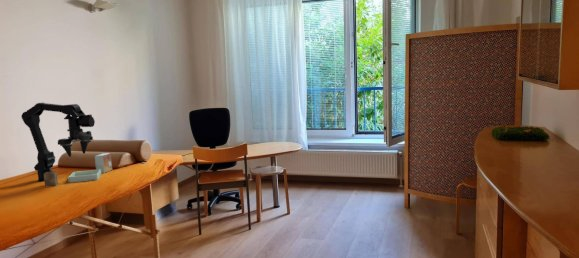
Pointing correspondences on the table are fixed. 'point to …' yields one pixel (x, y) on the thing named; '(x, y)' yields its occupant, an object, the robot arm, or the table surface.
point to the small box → (103, 162)
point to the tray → (84, 175)
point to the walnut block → (50, 178)
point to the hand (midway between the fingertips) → (77, 155)
